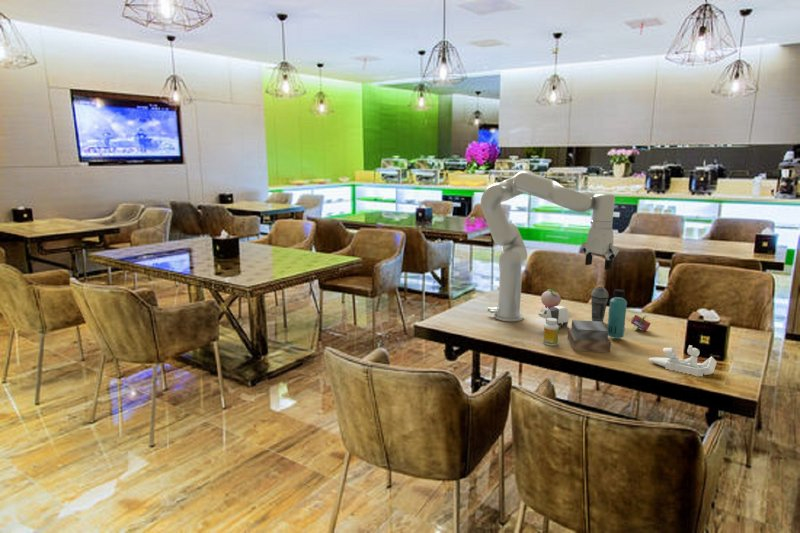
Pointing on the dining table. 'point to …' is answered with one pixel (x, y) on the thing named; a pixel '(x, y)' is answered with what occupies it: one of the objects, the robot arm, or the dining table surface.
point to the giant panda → (556, 314)
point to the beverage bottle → (617, 315)
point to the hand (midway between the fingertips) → (597, 267)
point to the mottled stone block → (589, 336)
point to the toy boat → (685, 362)
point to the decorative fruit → (550, 298)
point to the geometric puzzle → (640, 323)
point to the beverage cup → (599, 303)
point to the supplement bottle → (551, 332)
